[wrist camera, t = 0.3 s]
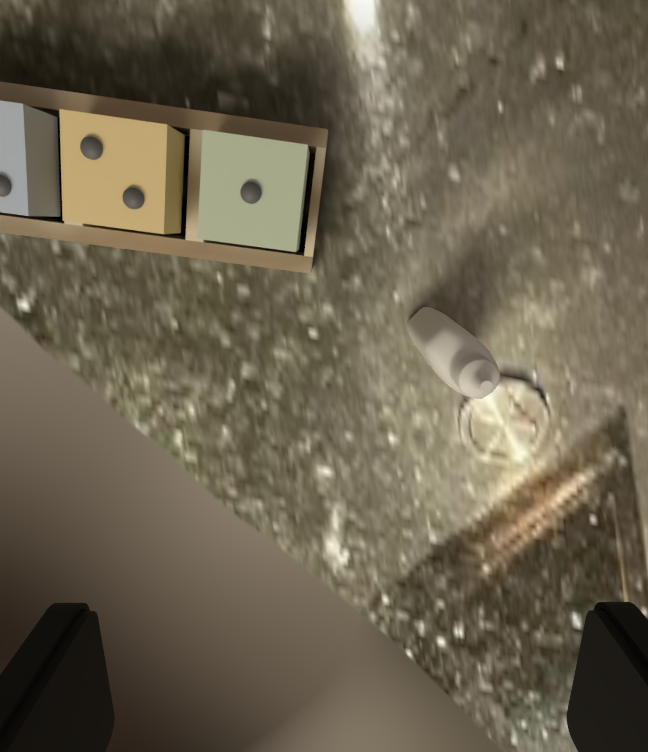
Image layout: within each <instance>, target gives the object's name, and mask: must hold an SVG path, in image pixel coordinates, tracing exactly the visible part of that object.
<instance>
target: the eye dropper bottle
mask: <svg viewBox="0 0 648 752" xmlns="http://www.w3.org/2000/svg"><path fill="white" fill-rule="evenodd" d="M407 329H408V332H409V335H410V337H411V339H412V341H413V342H414V344H415V345H416V347H417V348H418V349H419V351H420V352H421V353H422V355H423V356H424V357H425V359H426V360H427V361H428V363H429V364H430V365H431V367H432V368H433V369H434V371H435V372H436V373H437V375H438V376H439V377H440V378H441V379H442V380H443V381H444V382H445V383H446V384H447V385H449V386H450V387H451V388H453V389H454V390H456V391H457V392H459V393H461V394H463V395H466V396H468V397H471V398H476V399H481V398H483V397H485V396H487V395H489V394H490V393H491V392H493V390H494V389H495V388H496V387H497V385H498V384H499V382H500V372H499V369H498V366H497V364H496V362H495V360H494V358H493V356H492V355H491V353H490V352H489V351H488V349H487V348H486V347H485V346H484V345H483V344H482V343H481V342H480V341H479V340H478V339H477V338H475V337H474V336H473V335H472V334H470V333H469V332H468V331H467V330H465V329H464V328H463V327H461V326H460V325H459V324H457V323H456V322H455V321H453V320H452V319H451V318H449V317H448V316H447V315H445V314H444V313H442V312H440V311H438V310H436V309H433V308H431V307H423V308H421V309H420V310H419V311H418V312H417V313H416V314H415V315H414V316H413V317H412V318H411V319H410V320H409V321H408V323H407Z"/></svg>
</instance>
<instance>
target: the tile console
mask: <svg viewBox="0 0 648 752" xmlns="http://www.w3.org/2000/svg"><path fill="white" fill-rule="evenodd" d="M0 101H7V102H14V103H21V104H25V105H27V106H30V107H33V108H35V109H38V110H40V111H43V112H45V113H48V114H50V115H53V116H55V117H60V111H59V109H63V110H70V111H77V112H84V113H91V114H98V115H105V116H112V117H118V118H125V119H132V120H139V121H146V122H153V123H160V124H167V125H169V126H170V127H172V128H174V129H175V130H177V131H178V132H180V133H182V134H183V135H186V136H190V147H189V170H188V193H187V215H186V236H178V235H171V234H158V233H151V232H143V231H136V230H128V229H121V228H113V227H106V226H99V225H91V224H84V223H76V222H69V221H63V220H59V219H52V218H44V217H37V216H24V215H17V214H9V213H2V212H0V232H2V233H10V234H18V235H25V236H33V237H40V238H48V239H55V240H63V241H70V242H78V243H85V244H93V245H100V246H108V247H115V248H123V249H130V250H138V251H145V252H153V253H161V254H168V255H176V256H183V257H191V258H198V259H206V260H213V261H221V262H228V263H236V264H243V265H251V266H258V267H266V268H273V269H281V270H289V271H296V272H304V273H311V271H312V264H313V256H314V248H315V239H316V231H317V223H318V215H319V206H320V198H321V190H322V182H323V173H324V165H325V157H326V149H327V140H328V129H323V128H317V127H310V126H303V125H296V124H289V123H282V122H275V121H268V120H261V119H255V118H248V117H241V116H234V115H227V114H220V113H213V112H206V111H200V110H193V109H186V108H179V107H172V106H165V105H158V104H151V103H144V102H138V101H131V100H124V99H117V98H110V97H103V96H96V95H89V94H83V93H76V92H69V91H62V90H55V89H48V88H41V87H34V86H27V85H21V84H14V83H7V82H0ZM203 130H209V131H216V132H223V133H230V134H237V135H244V136H251V137H258V138H265V139H272V140H278V141H285V142H292V143H299V144H306V145H308V147H309V152H310V153H312V154H316V156H315V165H314V174H313V182H312V191H311V200H310V208H309V217H308V226H307V234H306V243H305V252H292V251H285V250H277V249H270V248H262V247H255V246H247V245H240V244H232V243H225V242H218V241H210V240H203V239H197V233H198V213H199V194H200V174H201V155H202V135H203Z"/></svg>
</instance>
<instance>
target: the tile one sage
mask: <svg viewBox="0 0 648 752" xmlns="http://www.w3.org/2000/svg"><path fill="white" fill-rule="evenodd" d="M309 155H310V152H309V147H308V145H306V144H299V143H292V142H285V141H278V140H272V139H265V138H258V137H251V136H244V135H237V134H230V133H223V132H216V131H209V130H203V135H202V155H201V174H200V194H199V213H198V233H197V239H203V240H210V241H218V242H225V243H232V244H240V245H247V246H255V247H262V248H270V249H277V250H285V251H292V252H297V251H298V249H299V244H300V236H301V227H302V218H303V209H304V200H305V191H306V182H307V173H308V164H309Z"/></svg>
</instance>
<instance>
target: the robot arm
mask: <svg viewBox="0 0 648 752" xmlns="http://www.w3.org/2000/svg"><path fill="white" fill-rule="evenodd" d="M114 719H115V718H114V710H113V704H112V698H111V692H110V686H109V680H108V674H107V668H106V662H105V656H104V651H103V645H102V639H101V633H100V627H99V621H98V616H97V613H96V612H95V611H90V610H89V607H88V605H87V604H86V603H54V604H52V605H51V606H50V607H49V608H48V609H47V610H46V612H45V613H44V615H43V616H42V617H41V619H40V620H39V622H38V623H37V624H36V626H35V627H34V629H33V630H32V632H31V633H30V634H29V636H28V637H27V638H26V640H25V641H24V643H23V644H22V645H21V647H20V649H19V650H18V651H17V653H16V654H15V655H14V657H13V658H12V660H11V661H10V662H9V664H8V665H7V666H6V668H5V669H4V671H3V672H2V673H1V675H0V752H105V751H106V748H107V746H108V744H109V741H110V739H111V736H112V732H113V728H114ZM567 724H568V729H569V732H570V735H571V738H572V740H573V742H574V744H575V746H576V748H577V750H578V752H648V620H647V618H646V617H645V616H644V615H643V614H642V612H641V611H640V610H639V609H638V608H637V607H636V606H635V605H634V604H632V603H630V602H598V603H597V604H596V605H595V608H594V610H592V611H589V612H588V613H587V615H586V620H585V625H584V630H583V635H582V640H581V645H580V650H579V655H578V660H577V665H576V670H575V675H574V680H573V685H572V690H571V695H570V700H569V705H568V711H567Z"/></svg>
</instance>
